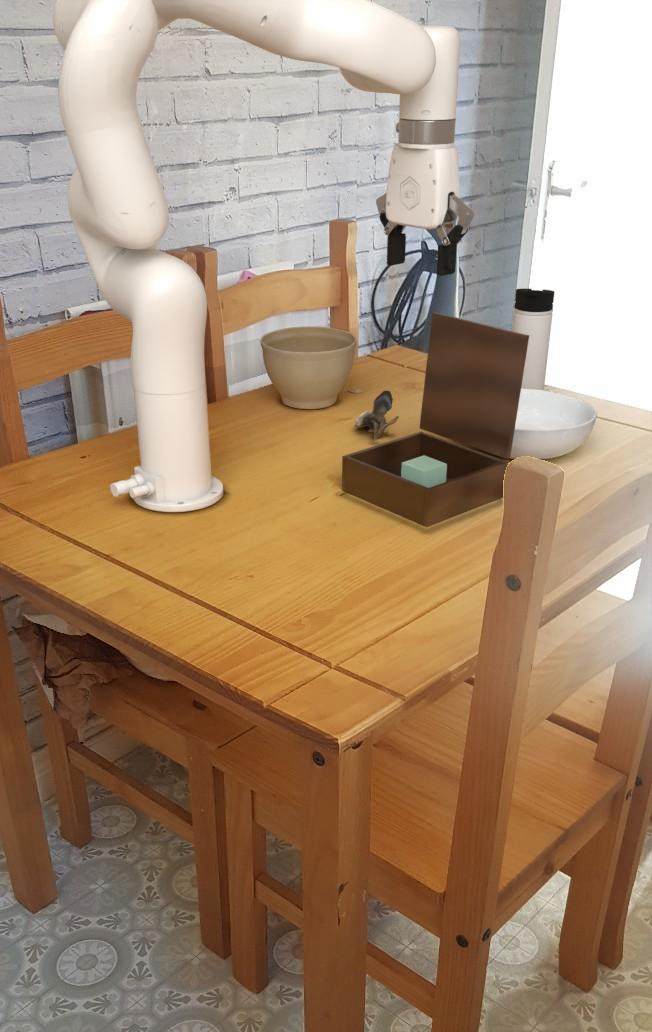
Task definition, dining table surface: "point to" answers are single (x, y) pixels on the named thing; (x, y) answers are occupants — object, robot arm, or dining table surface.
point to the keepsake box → (382, 485)
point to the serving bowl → (550, 424)
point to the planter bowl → (308, 364)
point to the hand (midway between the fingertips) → (420, 269)
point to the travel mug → (534, 332)
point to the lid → (473, 383)
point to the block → (424, 471)
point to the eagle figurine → (378, 415)
